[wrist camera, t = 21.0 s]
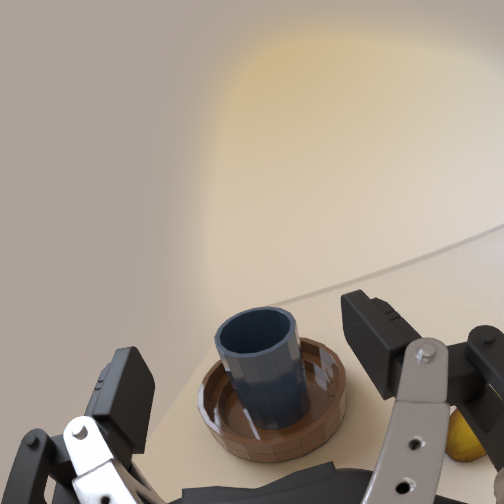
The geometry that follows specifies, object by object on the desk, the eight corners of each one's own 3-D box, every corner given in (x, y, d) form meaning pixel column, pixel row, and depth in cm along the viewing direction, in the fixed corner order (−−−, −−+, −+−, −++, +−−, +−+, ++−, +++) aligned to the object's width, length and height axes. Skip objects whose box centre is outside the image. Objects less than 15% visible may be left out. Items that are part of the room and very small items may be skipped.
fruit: (525, 447, 11) (543, 424, 9) (449, 488, 12) (464, 471, 11) (494, 388, 18) (504, 363, 17) (426, 416, 20) (433, 393, 18)
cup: (238, 429, 24) (204, 358, 21) (251, 382, 30) (226, 310, 27) (308, 428, 23) (292, 353, 19) (311, 378, 29) (297, 302, 25)
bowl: (194, 458, 22) (178, 438, 21) (228, 364, 35) (219, 341, 34) (348, 460, 19) (349, 440, 17) (342, 355, 31) (340, 329, 30)
